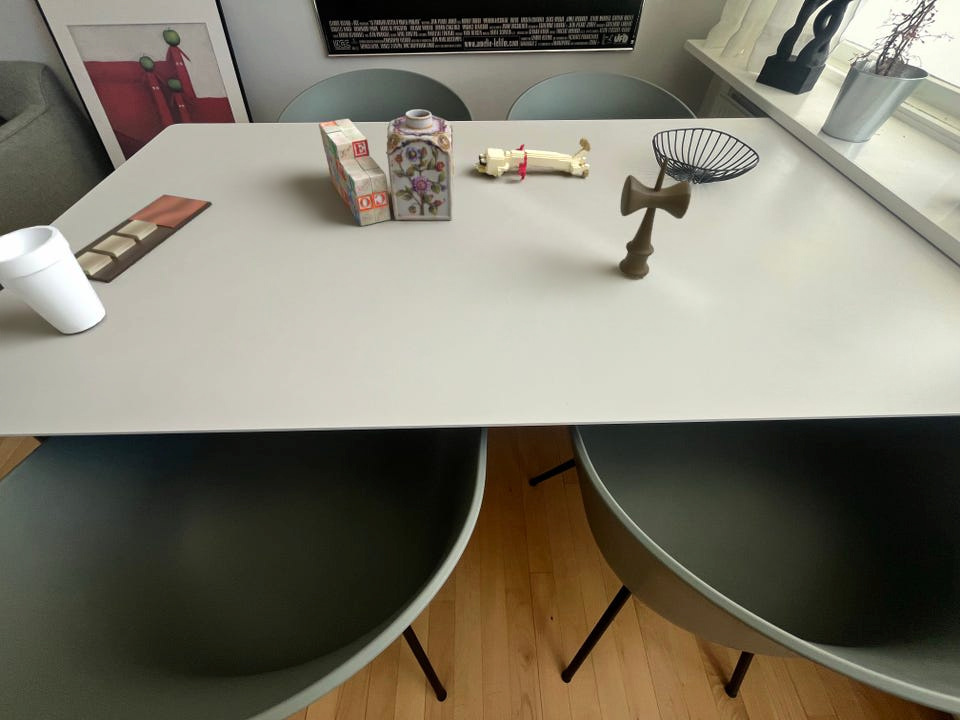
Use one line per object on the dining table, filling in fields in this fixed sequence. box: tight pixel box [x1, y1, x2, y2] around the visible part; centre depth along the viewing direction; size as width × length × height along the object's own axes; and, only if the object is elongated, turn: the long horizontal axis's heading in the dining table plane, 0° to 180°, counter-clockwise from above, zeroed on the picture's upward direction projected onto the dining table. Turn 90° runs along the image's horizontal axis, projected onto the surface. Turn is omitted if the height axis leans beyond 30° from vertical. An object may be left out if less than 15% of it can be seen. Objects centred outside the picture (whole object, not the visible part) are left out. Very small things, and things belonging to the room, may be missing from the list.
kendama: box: [618, 156, 692, 278], centre depth 76 cm, size 6×10×20 cm, turn 83°
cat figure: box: [475, 137, 592, 180], centre depth 106 cm, size 10×9×25 cm
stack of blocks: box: [318, 118, 391, 227], centre depth 95 cm, size 21×6×12 cm, turn 28°
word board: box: [73, 194, 213, 284], centre depth 88 cm, size 11×27×2 cm, turn 165°
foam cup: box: [0, 225, 106, 334], centre depth 67 cm, size 10×9×13 cm
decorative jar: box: [385, 108, 455, 221], centre depth 91 cm, size 12×12×18 cm
